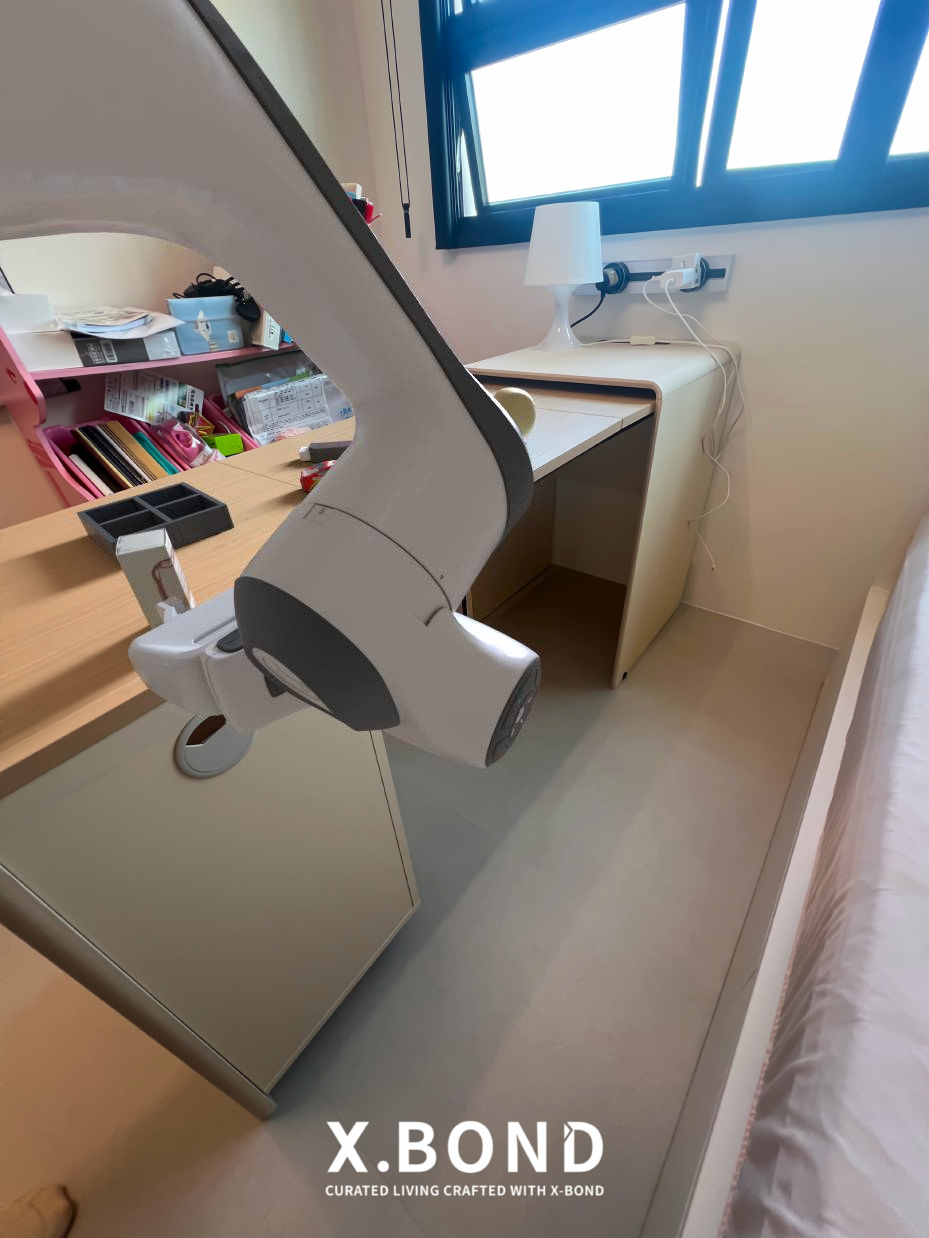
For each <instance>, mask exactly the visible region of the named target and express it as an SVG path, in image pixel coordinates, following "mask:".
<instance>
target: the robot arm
mask: <svg viewBox="0 0 929 1238" xmlns="http://www.w3.org/2000/svg"><path fill="white" fill-rule="evenodd" d="M94 233H95V234H97V233H99V234H101V233H109V234H110V233H112V234H128V235H129V234H130V235H139V236H145V237H151V238H155V239H159V240H160V239H161V240H164V241H168V242H171V243H174V244H177V245H179V246H182V247H184V248H187V249H189V250H191V251H194V252H196V253H198V254H199V255H201V256H203V257H204V258H206V259H208V260H209V261H211V262H213V263H214V264H216V265H217V266H219V267H220V268H221V269H223V270H224V272H226V273H228V274H229V275H230V276H231V277H232V278H233V279H235V281H236V282H237V283H239V285H241V286H242V287H243V288H244V290H245V291H246V292H247V293H248V294H249V295H250V297H252V299H254V300H255V302H256V303H258V305H259V306H260V307H261V308H262V309H263V310H264V311H265V312H266V313H267V315H268V316H270V318H271V319H272V320H273V321H274V322H275V323H276V324H277V325H278V326H279V328H281V329H282V330H283V332H284V333H285V334H286V335H287V336H288V337H289V338H290V339H291V340H292V341H293V342H294V343H295V344H296V346H297V347H298V348H299V349H300V350H301V351H302V352H303V353H304V354H305V356H307V357H308V358H309V359H310V361H311V362H312V363H313V364H314V365H315V366H316V367H317V368H318V369H319V371H321V372H322V373H323V374H324V375H325V376H326V378H327V379H328V380H329V381H330V382H331V383H332V384H333V385H334V387H336V388H337V389H338V390H339V392H340V393H341V394H342V395H343V396H344V397H345V398H346V399H347V400H348V402H349V403H350V405H351V408H352V410H353V413H354V422H355V423H354V424H355V426H354V433H353V438H352V439H351V440H352V442H351V444H350V446H349V447H348V448H347V449H346V450H345V452H344V453H343V454H342V455H341V456H340V457H339V459H338V460H337V461H336V462H335V463H334V465H333V466H332V467H331V468H330V469H329V470H328V472H327V473H326V474H325V475H324V476H323V478H322V479H321V480H320V481H319V482H318V483H317V485H316V486H315V487H314V488H313V489H312V491H309V493H308V494H307V495H306V496H305V497H304V499H303V500H302V501H301V502H300V503H299V504H298V505H296V506H295V507H294V508H293V509H292V510H291V511H290V512H289V514H288V515H287V516H286V517H285V518H284V519H283V521H282V522H281V523H280V524H279V525H278V527H277V528H276V529H275V530H274V531H273V532H272V534H270V536H269V538H267V540H266V541H265V542H264V543H263V544H262V546H261V547H260V548H259V549H258V551H257V552H256V553H255V554H254V555H253V557H252V558H251V559H250V561H249V562H248V563H247V565H246V566H245V567H244V569H243V571H242V572H241V574H240V575H239V577H237V578H235V580H234V585H233V586H232V587H230V588H228V589H226V590H224V591H222V592H221V593H219V594H217V595H215V596H213V597H212V598H211V597H210V598H209V599H207V600H206V601H204V602H201V603H199V604H198V605H196V607H194V608H192V609H190V610H189V611H187V612H186V611H185V610H186V607H185V604H184V602H183V601H182V600H180V599H176V597H174V596H173V597H171V598H168V599H166V600H164V601H162V602H160V603H158V604H156V605H155V608H156V610H157V612H158V614H159V616H160V618H161V619H162V621H163V623H164V624H162V625H160V626H158V627H156V628H155V629H153V630H152V629H151V630H149V631H147V632H145V633H143V634H141V635H139V636H137V637H135V638H134V639H133V640H132V641H131V642H130V645H129V647H128V650H127V656H128V659H129V661H130V663H131V665H132V667H133V669H134V671H135V672H136V674H137V675H138V677H139V679H140V680H141V682H142V683H143V684H144V686H145V687H146V688H147V689H148V690H150V691H151V692H152V693H154V694H155V695H157V696H158V697H159V698H162V699H163V700H165V701H167V702H169V703H170V704H172V705H174V706H176V707H179V708H181V709H183V710H185V711H187V712H190V713H191V714H196V715H198V716H206V717H214V716H221V715H223V717H224V718H225V720H226V721H227V722H228V724H229V725H230V727H231V728H232V729H233V730H234V731H237V732H238V733H240V734H243V735H247V734H251V733H254V732H256V731H259V730H261V729H263V728H265V727H268V726H269V725H271V724H273V723H275V722H277V721H280V720H282V719H284V718H286V717H288V716H290V715H292V714H295V713H298V712H300V711H302V710H306V709H307V708H308V709H309V708H311V707H313V708H315V709H317V710H319V711H321V712H322V713H324V714H326V715H328V716H330V717H332V718H333V719H336V720H337V721H338V722H341V723H342V724H344V725H346V726H347V727H348V728H350V729H351V730H353V731H355V732H371V731H383V732H384V733H386V734H389V735H391V736H392V737H394V738H397V739H399V740H401V741H403V742H405V743H407V744H409V745H412V746H414V747H416V748H419V749H421V750H423V751H425V752H428V753H431V754H434V755H436V756H439V757H442V758H443V759H447V760H450V761H453V762H456V763H459V764H462V765H466V766H469V767H473V768H476V769H482V770H483V769H488V768H489V767H491V766H492V765H494V764H495V763H497V762H499V761H500V760H501V759H502V758H503V757H504V756H505V755H506V753H508V750H509V749H510V748H511V747H512V745H514V742H515V741H516V739H517V737H518V735H519V733H520V731H521V729H522V727H523V726H524V725H525V721H526V719H527V718H528V715H529V713H530V711H531V710H532V707H533V703H534V700H535V698H536V697H537V694H538V692H539V687H540V683H541V677H542V667H541V665H542V664H541V658H540V655H539V654H537V653H536V652H535V651H534V650H532V649H531V648H530V647H527V646H526V645H525V644H523V643H521V642H520V641H517V640H516V639H514V638H512V637H510V636H509V635H507V634H505V633H503V632H501V631H499V630H496V629H494V628H492V627H491V626H488V625H486V624H485V623H482V622H480V621H477V620H475V619H473V618H471V617H468V616H466V615H464V614H462V613H459V612H456V611H457V609H459V606H460V605H461V603H462V601H463V600H464V598H465V596H466V595H467V594H468V592H469V590H471V589H470V588H471V587H472V586H473V584H474V583H475V580H476V579H477V577H478V576H479V574H480V573H481V571H482V570H483V568H484V567H485V565H486V564H487V561H488V560H489V559H490V557H491V556H492V554H493V553H494V552H496V551H497V549H498V548H499V547H500V545H501V544H502V543H503V541H504V540H505V539H506V537H508V535H509V533H510V532H511V531H512V530H513V528H514V527H515V526H516V525H517V524H518V522H519V521H520V520H521V518H522V517H523V516H524V514H525V513H526V512H527V510H528V509H529V507H530V505H531V502H532V500H533V496H534V491H535V477H534V470H533V466H532V461H531V457H530V454H529V450H528V447H527V444H526V441H525V440H523V437H522V435H521V433H520V431H519V429H518V427H517V426H516V424H515V423H514V421H513V420H512V418H511V417H510V416H509V414H508V413H507V412H506V411H505V409H504V408H503V407H502V406H501V405H500V404H499V403H498V402H497V400H496V399H495V398H494V395H492V394H491V393H490V392H489V391H488V390H487V389H486V387H484V386H483V385H482V384H481V383H480V382H479V381H478V379H477V378H476V377H475V376H473V374H472V373H471V372H470V371H469V370H468V369H467V368H466V366H465V365H464V364H463V362H462V361H461V360H460V359H459V358H458V356H457V355H456V353H455V352H454V350H453V349H452V348H451V347H450V346H449V344H448V342H447V341H446V339H445V338H444V336H443V335H442V334H441V332H440V330H438V328H437V326H436V325H435V323H434V322H433V320H432V318H431V317H430V315H428V313H427V311H426V310H425V308H424V307H423V306H422V304H421V302H420V301H419V299H418V298H417V296H416V295H415V293H414V292H413V290H412V289H411V288H410V285H408V283H407V281H406V279H405V278H404V277H403V275H402V274H401V272H400V271H399V270H398V267H396V264H394V262H393V261H392V259H391V257H390V255H388V253H387V252H386V250H385V248H384V247H383V245H382V244H381V242H380V241H379V240H378V238H377V236H376V234H374V232H373V231H372V229H371V227H370V226H369V224H368V223H367V221H366V220H365V218H364V217H363V216H362V214H361V212H360V211H359V210H358V208H357V207H356V205H355V204H354V202H353V200H352V199H351V198H350V196H349V195H348V193H347V192H346V190H345V189H344V187H343V186H342V184H341V182H340V181H339V180H338V178H337V177H336V175H335V174H334V173H333V171H332V170H331V168H330V165H328V163H327V161H326V160H325V158H323V155H322V154H321V153H320V151H319V150H318V148H317V147H316V146H315V144H314V143H313V141H312V139H311V138H310V137H309V135H308V134H307V133H306V130H305V129H304V128H303V126H302V125H301V124H300V122H299V121H298V119H297V118H296V116H295V114H294V113H293V112H292V110H291V109H290V107H289V106H288V105H287V103H286V101H285V100H284V99H283V97H282V95H280V93H279V92H278V90H277V89H276V88H275V86H274V84H273V82H272V81H271V80H270V79H269V77H268V76H267V74H266V73H265V72H264V70H263V69H262V67H261V66H260V65H259V64H258V62H257V61H256V59H255V58H254V56H253V55H252V54H251V53H250V51H249V50H248V47H246V46H245V44H244V43H243V41H242V40H241V39H240V37H239V36H238V35H237V33H236V32H235V31H234V30H233V28H232V26H230V24H229V23H228V21H227V20H226V19H225V18H224V16H223V15H222V14H221V13H220V11H219V10H218V8H217V7H216V6H215V5H214V4H213V2H212V1H211V0H0V241H10V240H12V241H13V240H21V239H30V238H40V237H51V236H58V235H68V234H94Z"/></svg>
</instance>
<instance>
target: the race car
mask: <svg viewBox="0 0 929 1238" xmlns="http://www.w3.org/2000/svg"><path fill="white" fill-rule="evenodd" d="M336 461H337V460H331V461H326V462H321V463H316V464H313V465H311V466H310V467H308V468H305V469H303V470H301V471H300V478H299V483H300V486H301V489H302V490H304V491H307V492H311V491H312V489H313V488H314V487H315V486H316V485H317V483H318V482H319V481H320V480H321V479H322V478H323V476H324V475H325V474H326V473H327V472H328V470H329V469H330V468H331V467H332V466H333V465H334V463H335V462H336Z"/></svg>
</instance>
